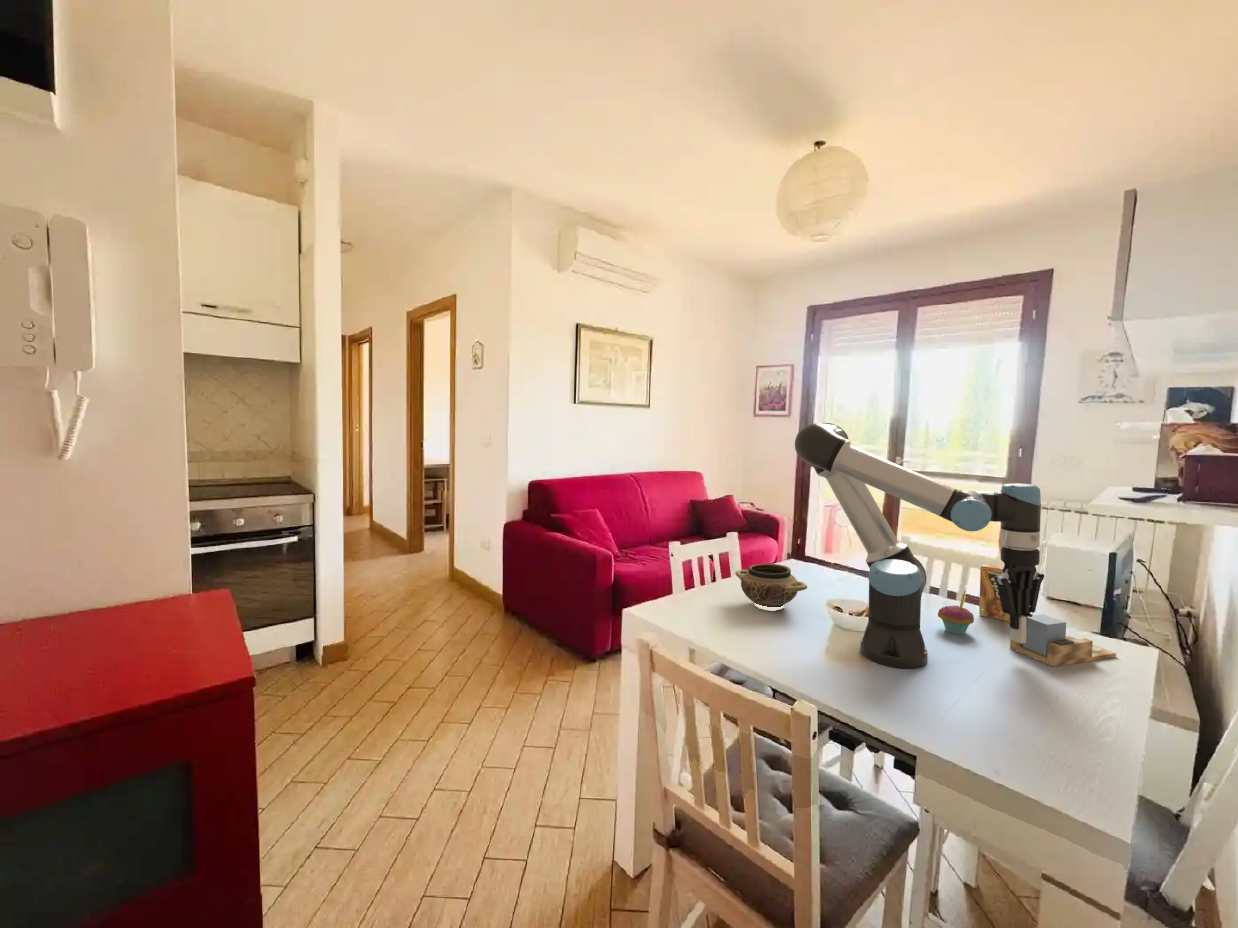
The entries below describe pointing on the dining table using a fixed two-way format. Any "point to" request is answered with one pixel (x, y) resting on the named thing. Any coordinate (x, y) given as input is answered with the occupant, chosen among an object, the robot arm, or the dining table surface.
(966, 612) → the cupcake
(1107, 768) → the dining table surface
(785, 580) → the ceramic bowl
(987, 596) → the candy box
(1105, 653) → the wooden fixture
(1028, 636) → the block
